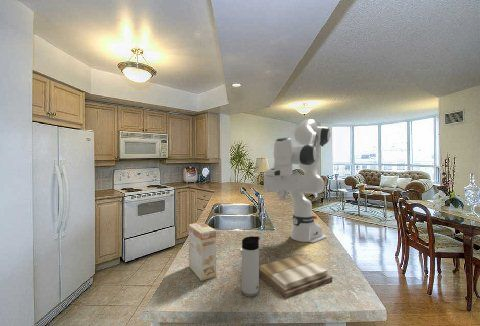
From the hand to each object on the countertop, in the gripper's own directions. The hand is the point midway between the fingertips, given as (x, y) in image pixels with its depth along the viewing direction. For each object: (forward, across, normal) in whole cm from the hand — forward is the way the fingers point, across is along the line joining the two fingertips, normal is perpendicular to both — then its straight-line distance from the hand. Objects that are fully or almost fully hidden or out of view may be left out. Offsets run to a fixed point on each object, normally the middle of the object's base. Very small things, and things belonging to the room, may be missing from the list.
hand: (282, 200), depth 109 cm
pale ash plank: (+28, +6, +18) cm, 34 cm away
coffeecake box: (+29, +38, -8) cm, 49 cm away
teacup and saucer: (+30, +12, -18) cm, 37 cm away
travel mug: (+29, +27, +15) cm, 43 cm away
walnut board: (+29, +6, +14) cm, 33 cm away
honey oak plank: (+27, +6, +10) cm, 30 cm away
